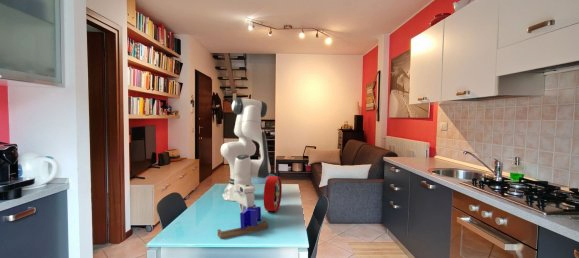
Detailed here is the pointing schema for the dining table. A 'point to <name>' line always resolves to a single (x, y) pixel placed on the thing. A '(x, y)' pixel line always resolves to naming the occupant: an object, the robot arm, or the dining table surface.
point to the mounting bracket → (250, 216)
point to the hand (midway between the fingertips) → (242, 212)
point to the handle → (242, 230)
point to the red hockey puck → (272, 193)
